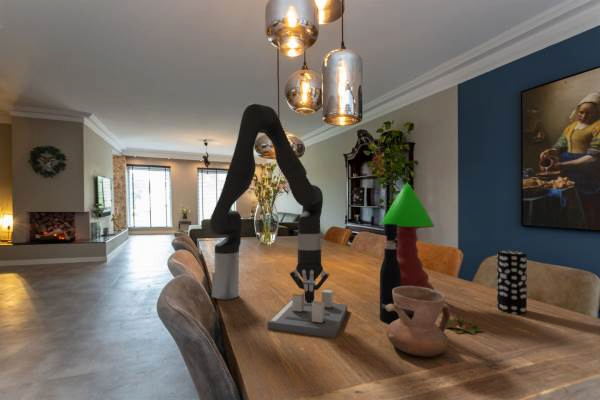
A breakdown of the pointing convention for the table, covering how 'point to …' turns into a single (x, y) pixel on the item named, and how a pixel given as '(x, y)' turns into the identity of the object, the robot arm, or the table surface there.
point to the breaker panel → (309, 320)
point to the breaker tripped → (298, 301)
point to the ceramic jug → (418, 321)
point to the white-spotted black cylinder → (512, 282)
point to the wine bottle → (389, 275)
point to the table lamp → (409, 236)
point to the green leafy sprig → (461, 322)
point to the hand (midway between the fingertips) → (309, 302)
